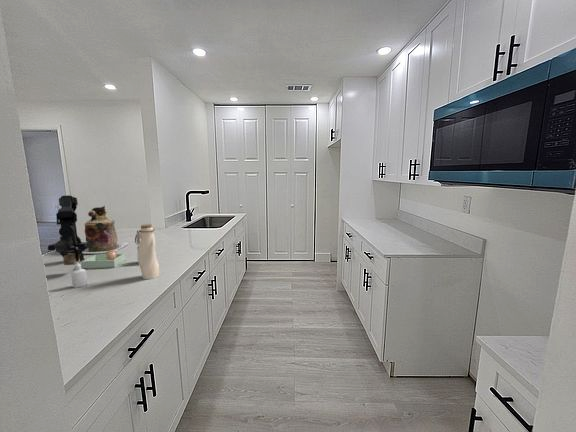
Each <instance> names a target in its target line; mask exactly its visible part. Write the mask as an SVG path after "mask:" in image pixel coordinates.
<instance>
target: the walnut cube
mask: <svg viewBox="0 0 576 432" xmlns="http://www.w3.org/2000/svg"><path fill="white" fill-rule="evenodd" d="M62 260H63V265H64V266H75V265H76V263H77V262H78V263H79V264H80V263H81V262H80V258H79V261H76V254H75V253H69V254H67V255H64V256H63V257H62Z"/></svg>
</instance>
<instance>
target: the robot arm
mask: <svg viewBox="0 0 576 432" xmlns="http://www.w3.org/2000/svg"><path fill="white" fill-rule="evenodd" d="M58 203H59V204H58V205H59V207H60V208H59V209H58V210H57V212H56V215H55V216H56V226H59V225H60V228H59V231H58V234H59V235H60V237H59V241H57V242H53V243H51V244H48V246H47V250H48V251H54V252H55V253H56V252H57V253H59V254H60V255H61V256H62V258H63V256H64V255H67V254H69V253H75V254H76V261H79V258H80V262H79V263H81V261H83V260H85V259H86V258H85V257H84V254H83V253H82V252H83V251H85V249H88V248H90V247H92V244H91V243H90V242H86V241H82V239H81V238H80V237H79V236H78V231H77V222H78V214H77V213H76V210H77V208H78V207H77V206H79V203H78V198H77V197H74V196H73V195H70V194H69V195H62V196H60V197H59V198H58Z"/></svg>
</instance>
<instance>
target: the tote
mask: <svg viewBox="0 0 576 432" xmlns="http://www.w3.org/2000/svg"><path fill="white" fill-rule="evenodd" d="M84 259H85V260H83V261H81V262H80V264H81V269H85V270H90V269H91V270H93V269H113V268H117V267H118V266H120V265H121V264H122V263H124V262H126V253H116V259H114V260H107V258H106V254H92V255H91V256H89V257H87V258H84Z"/></svg>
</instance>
